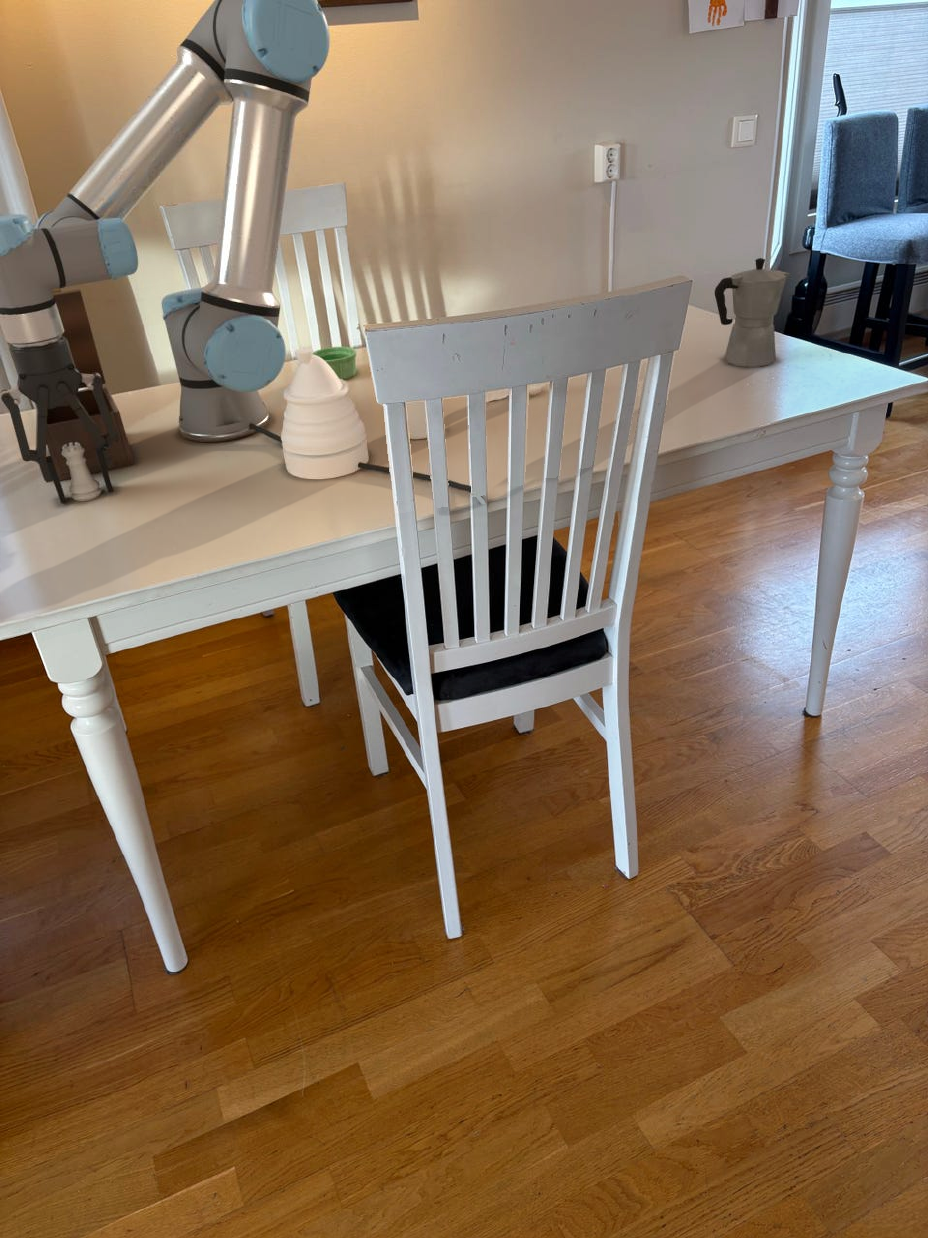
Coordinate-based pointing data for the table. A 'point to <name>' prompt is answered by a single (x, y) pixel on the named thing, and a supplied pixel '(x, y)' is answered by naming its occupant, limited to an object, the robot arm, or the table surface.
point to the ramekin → (339, 360)
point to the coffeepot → (751, 314)
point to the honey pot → (321, 423)
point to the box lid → (78, 332)
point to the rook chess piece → (80, 474)
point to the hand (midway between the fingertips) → (86, 493)
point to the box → (84, 433)
